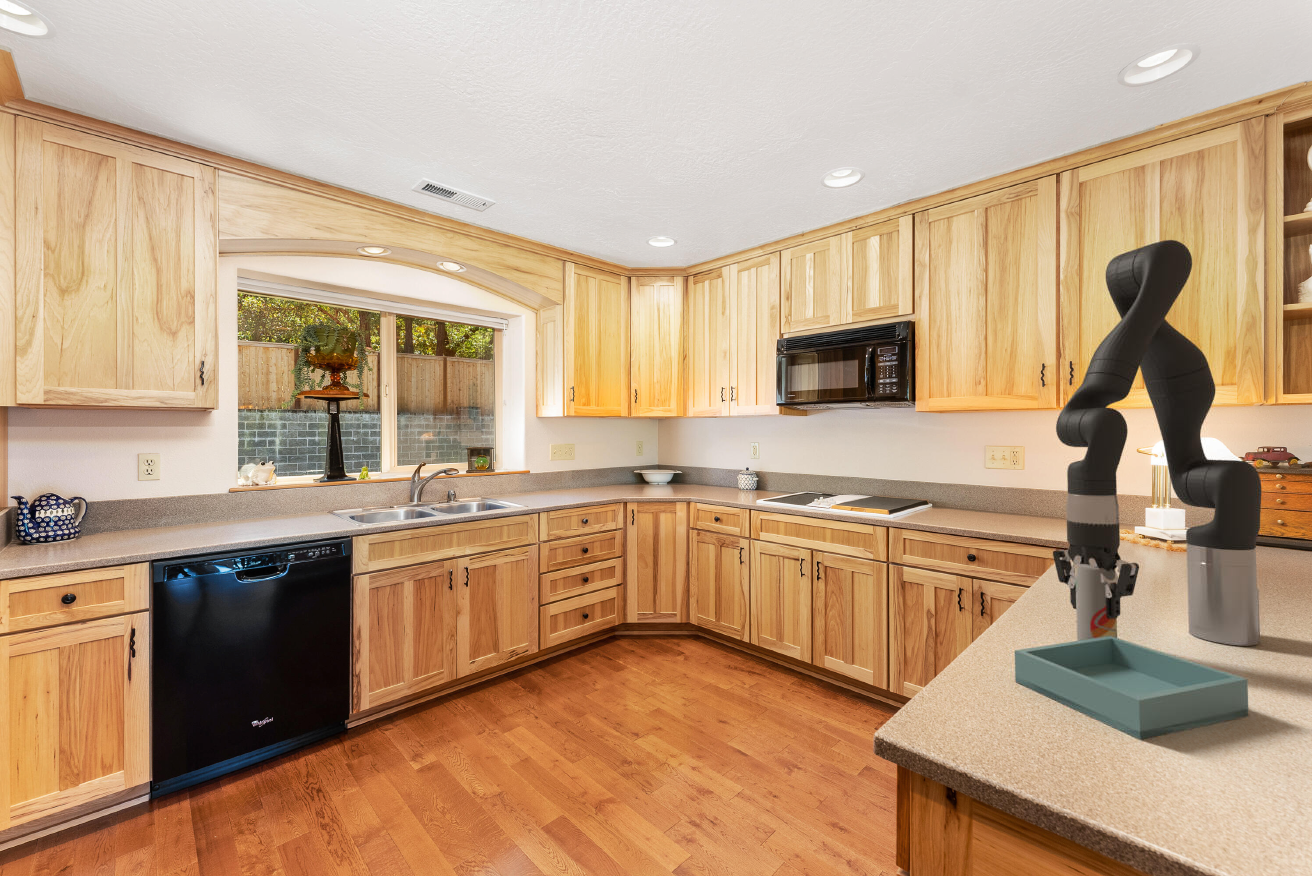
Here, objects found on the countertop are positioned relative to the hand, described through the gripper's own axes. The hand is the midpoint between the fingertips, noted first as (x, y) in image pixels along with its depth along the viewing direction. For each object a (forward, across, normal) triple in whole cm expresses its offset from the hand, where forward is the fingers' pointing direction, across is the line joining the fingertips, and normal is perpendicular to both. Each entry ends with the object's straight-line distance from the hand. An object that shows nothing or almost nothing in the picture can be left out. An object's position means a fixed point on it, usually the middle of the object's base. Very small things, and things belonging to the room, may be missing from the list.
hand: (1094, 612), depth 101 cm
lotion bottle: (+7, 0, 0) cm, 7 cm away
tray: (+6, -15, +15) cm, 22 cm away
